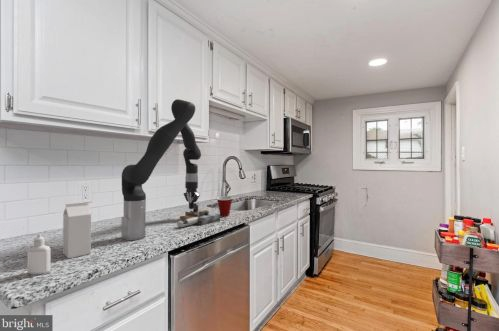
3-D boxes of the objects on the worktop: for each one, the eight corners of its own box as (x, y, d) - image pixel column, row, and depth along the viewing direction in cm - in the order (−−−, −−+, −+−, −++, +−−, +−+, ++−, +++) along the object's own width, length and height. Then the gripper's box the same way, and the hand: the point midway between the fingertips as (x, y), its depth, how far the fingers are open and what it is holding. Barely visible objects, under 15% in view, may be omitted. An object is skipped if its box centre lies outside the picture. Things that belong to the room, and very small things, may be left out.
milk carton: (90, 253, 95) (91, 203, 94) (68, 259, 89) (68, 205, 89) (85, 249, 99) (85, 201, 99) (62, 254, 94) (63, 203, 94)
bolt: (202, 218, 147) (202, 205, 147) (192, 215, 153) (192, 203, 153) (206, 217, 150) (206, 204, 149) (196, 214, 155) (196, 203, 155)
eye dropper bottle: (36, 277, 75) (36, 237, 75) (25, 273, 78) (25, 234, 77) (52, 271, 79) (52, 233, 79) (41, 268, 82) (42, 231, 81)
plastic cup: (212, 216, 163) (213, 197, 163) (221, 213, 173) (221, 195, 173) (227, 217, 159) (228, 198, 159) (235, 214, 169) (235, 196, 169)
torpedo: (181, 228, 131) (181, 216, 130) (175, 227, 133) (175, 214, 133) (205, 222, 146) (205, 210, 145) (199, 221, 148) (200, 209, 148)
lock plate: (202, 225, 139) (202, 214, 139) (178, 219, 152) (178, 209, 152) (220, 221, 150) (220, 210, 150) (196, 215, 163) (197, 206, 163)
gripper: (179, 180, 157) (179, 208, 157) (193, 181, 148) (193, 211, 149) (189, 179, 163) (189, 206, 163) (203, 181, 154) (203, 209, 155)
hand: (191, 208), depth 156 cm, fingers closed
